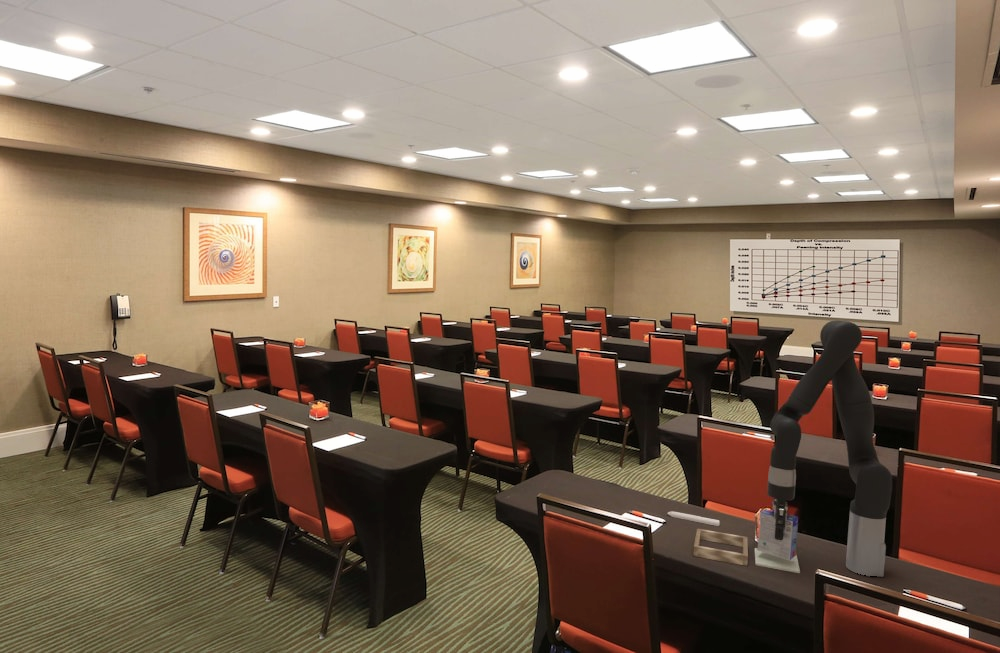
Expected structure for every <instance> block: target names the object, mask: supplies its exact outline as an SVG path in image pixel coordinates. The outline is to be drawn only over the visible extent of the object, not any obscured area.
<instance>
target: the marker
mask: <svg viewBox="0 0 1000 653" xmlns="http://www.w3.org/2000/svg"><path fill="white" fill-rule="evenodd" d="M667 515H668V516H670V518H675V519H679V520H685V521H691V522H695V523H700V524H705V525H710V526H714V527H719V526H720V524H721V520H718V519H713V518H709V517H703V516H699V515H694V514H689V513H684V512H678V511H667Z"/></svg>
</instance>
